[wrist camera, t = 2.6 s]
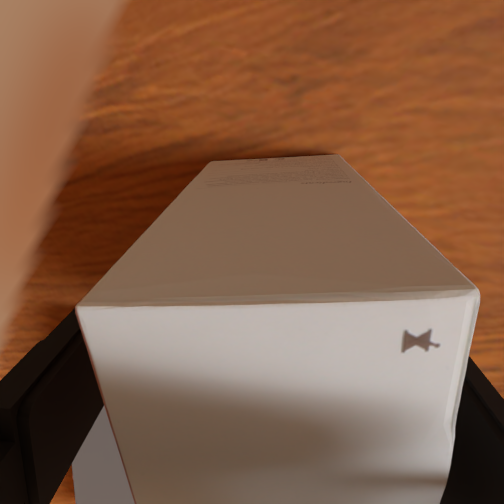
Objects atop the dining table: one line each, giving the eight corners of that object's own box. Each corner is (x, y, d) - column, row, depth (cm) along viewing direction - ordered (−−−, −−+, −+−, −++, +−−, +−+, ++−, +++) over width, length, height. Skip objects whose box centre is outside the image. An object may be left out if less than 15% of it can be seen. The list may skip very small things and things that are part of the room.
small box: (207, 159, 17) (59, 299, 5) (341, 151, 17) (501, 285, 5) (224, 303, 21) (153, 590, 9) (336, 300, 20) (427, 601, 8)
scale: (99, 306, 21) (51, 364, 16) (412, 352, 21) (449, 423, 16) (108, 499, 28) (75, 577, 24) (340, 533, 28) (353, 618, 24)
